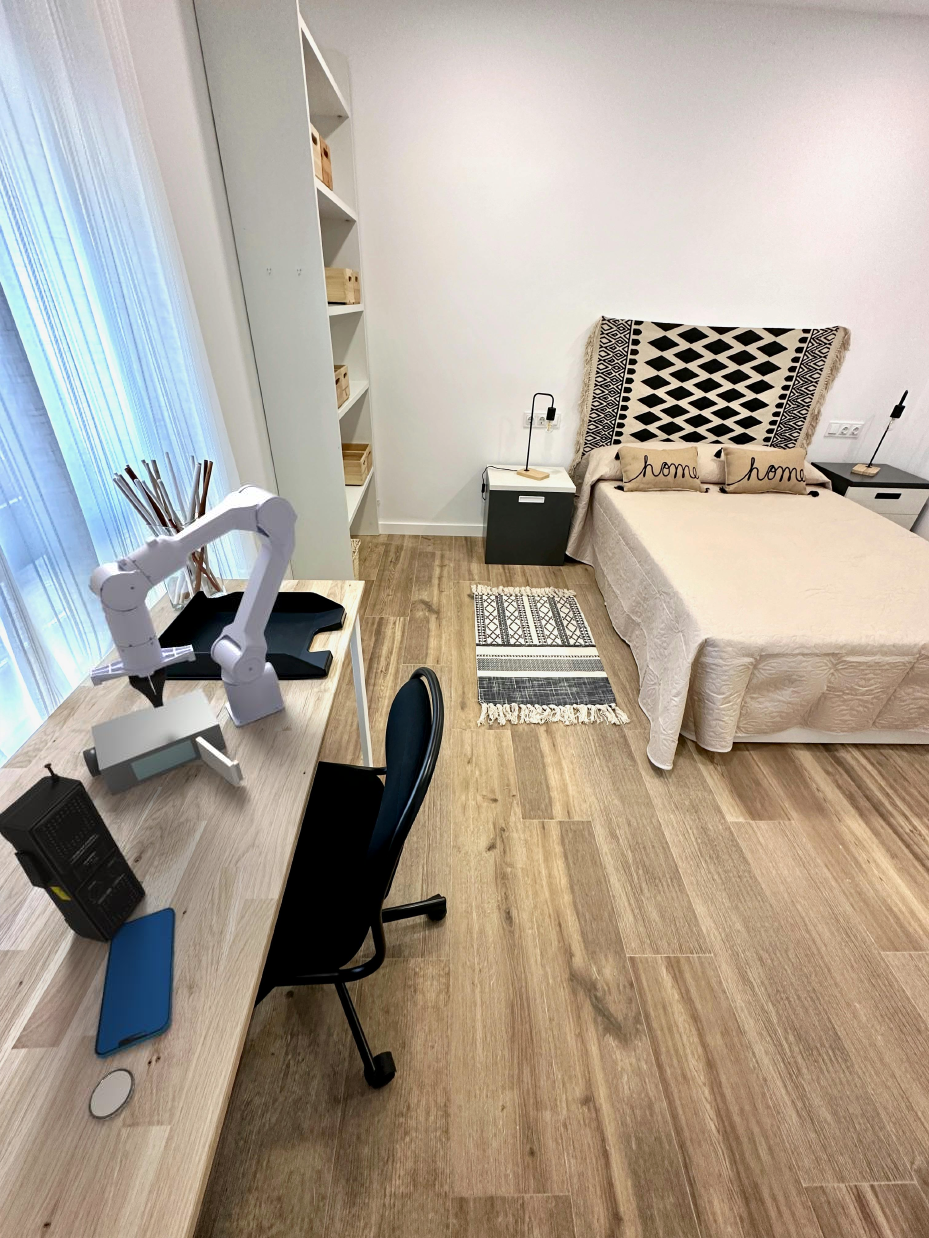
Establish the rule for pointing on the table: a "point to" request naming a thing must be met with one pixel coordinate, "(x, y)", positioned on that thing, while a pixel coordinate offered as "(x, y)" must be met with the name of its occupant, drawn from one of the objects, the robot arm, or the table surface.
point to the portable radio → (72, 856)
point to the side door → (220, 762)
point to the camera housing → (152, 741)
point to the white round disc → (111, 1093)
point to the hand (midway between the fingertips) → (158, 703)
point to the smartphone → (137, 983)
